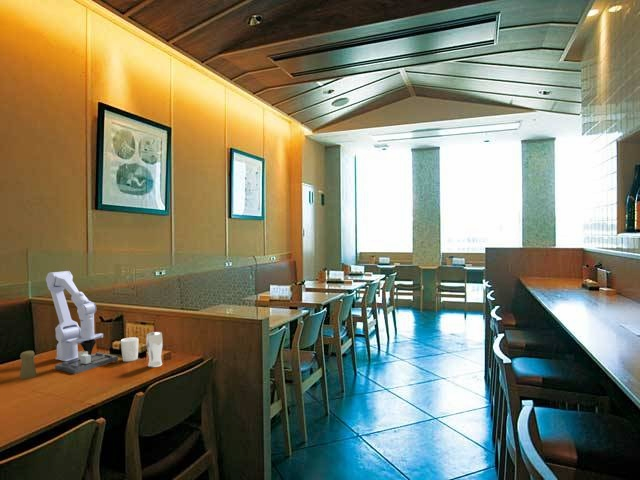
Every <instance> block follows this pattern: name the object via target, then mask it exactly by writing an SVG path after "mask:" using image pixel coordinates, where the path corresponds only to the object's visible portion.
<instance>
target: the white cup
mask: <svg viewBox="0 0 640 480" xmlns="http://www.w3.org/2000/svg"><path fill="white" fill-rule="evenodd" d="M120 346H121V347H120V349H121V355H122V361H123V362H133V361H134V362H135V361H136V360H138V359H139V358H138V357H139V337H137V336H136V337H135V336H133V337H132V336H131V337H126V338H122V339H121V340H120Z"/></svg>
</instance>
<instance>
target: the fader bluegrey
mask: <svg viewBox="0 0 640 480" xmlns="http://www.w3.org/2000/svg"><path fill="white" fill-rule="evenodd" d="M80 361H81V363H83V364H88V363H91V355H88V354H83V355H80Z"/></svg>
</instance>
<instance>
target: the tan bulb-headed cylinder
mask: <svg viewBox="0 0 640 480" xmlns="http://www.w3.org/2000/svg"><path fill="white" fill-rule="evenodd" d="M35 354H36V353H35V352H34V350H26V351H23V352H21V353H20V355H19V358H20V360H21V366H20V373H19V379H21V380H24V379H25V380H27V379H31V378H34V377H36V376H37V369H36V365H35V364H36V363H35V359H34V358H35V356H36V355H35Z"/></svg>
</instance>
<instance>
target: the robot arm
mask: <svg viewBox="0 0 640 480" xmlns="http://www.w3.org/2000/svg"><path fill="white" fill-rule="evenodd" d="M73 278H74V276H73V274H72V273H71V271H70V270H64V271H54V272H52V271H51V272H48V273H47V275H46V277H45V281H46V286H47V289H48V291H50V294H51V297H52V301H53V304H54V308H55V312H56V315H57V318H58V322H59V323H58V324H57V326H56V327H55V328H54V329H55V339H56V340H57V341H58V343H57V344H56V357H55V359H54V360H58V361H59V360H60V361H62V362H67V361H71V360H74V359H78V352H79V349H78V344H80V346H81V347H82V348H83V351H88V355H91V354H93V353H92V352H93V349H94V347H95V344H96V343H97V341H96V340H97V339H102V338H104V333H101V332H100V333H95V314H96V313H97V305H96V303H95V302H94V301H91V300H89V298H88V297H87V296H86V295H85V294H84V292H83V291H79V289H78V288H77V286H76V284H75V282H74V281H73V280H74V279H73ZM64 290H66V291H67V292H68V293H69V294H70V295H71V297H70V300H71V301H72V302H73V304H74V305H75V306H76V308H77V310H76V311H77V315H78V318H79V320H80V326H79V324H78V322H77V321H75V320H73V319H72V316H71V313H70V309H69V306H68V302H67V299H66V296H65V293H64Z"/></svg>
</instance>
